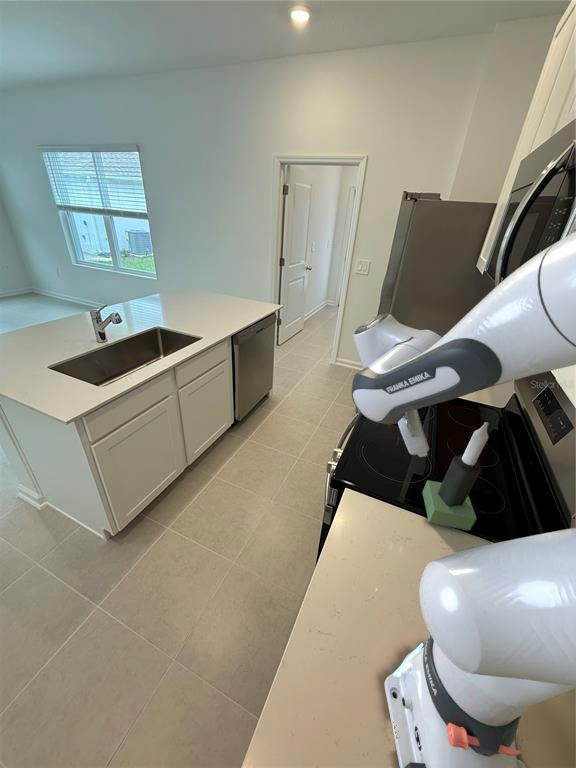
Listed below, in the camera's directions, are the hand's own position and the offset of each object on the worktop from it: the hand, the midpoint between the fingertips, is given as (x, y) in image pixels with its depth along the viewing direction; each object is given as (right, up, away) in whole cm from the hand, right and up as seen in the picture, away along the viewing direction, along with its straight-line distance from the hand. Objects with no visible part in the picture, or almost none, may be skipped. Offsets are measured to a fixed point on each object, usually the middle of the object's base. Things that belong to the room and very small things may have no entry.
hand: (418, 439), depth 68 cm
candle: (+14, -18, +13) cm, 26 cm away
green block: (+13, -22, +15) cm, 30 cm away
